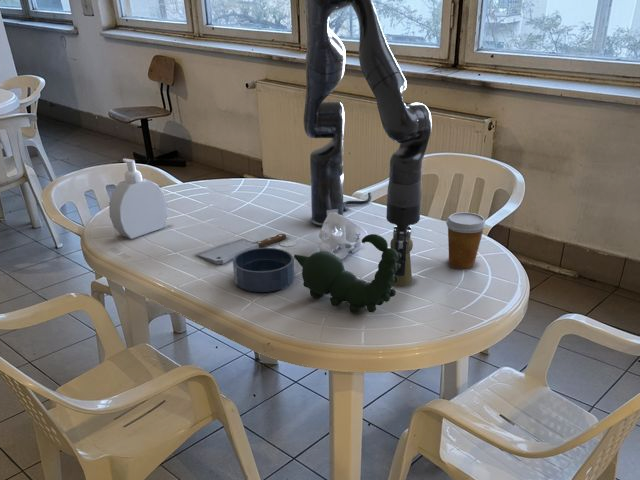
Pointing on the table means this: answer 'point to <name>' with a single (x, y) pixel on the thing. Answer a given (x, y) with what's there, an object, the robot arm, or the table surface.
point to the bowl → (263, 269)
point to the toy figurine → (351, 277)
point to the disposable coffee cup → (464, 238)
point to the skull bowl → (340, 235)
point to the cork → (407, 276)
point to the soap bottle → (137, 205)
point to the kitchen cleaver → (236, 249)
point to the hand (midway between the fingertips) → (400, 270)
